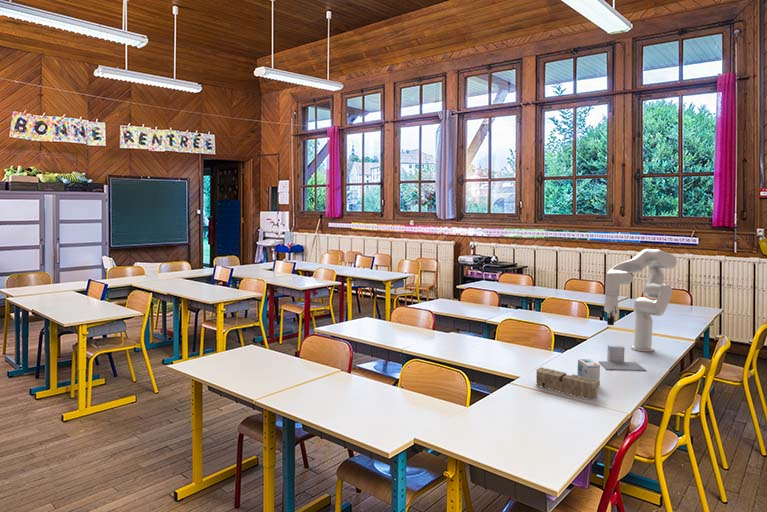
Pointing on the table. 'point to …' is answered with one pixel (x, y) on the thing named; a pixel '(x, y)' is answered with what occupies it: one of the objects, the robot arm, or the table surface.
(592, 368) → the light bulb box
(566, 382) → the brown segmented bar
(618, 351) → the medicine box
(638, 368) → the mat
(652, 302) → the robot arm
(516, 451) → the table surface
